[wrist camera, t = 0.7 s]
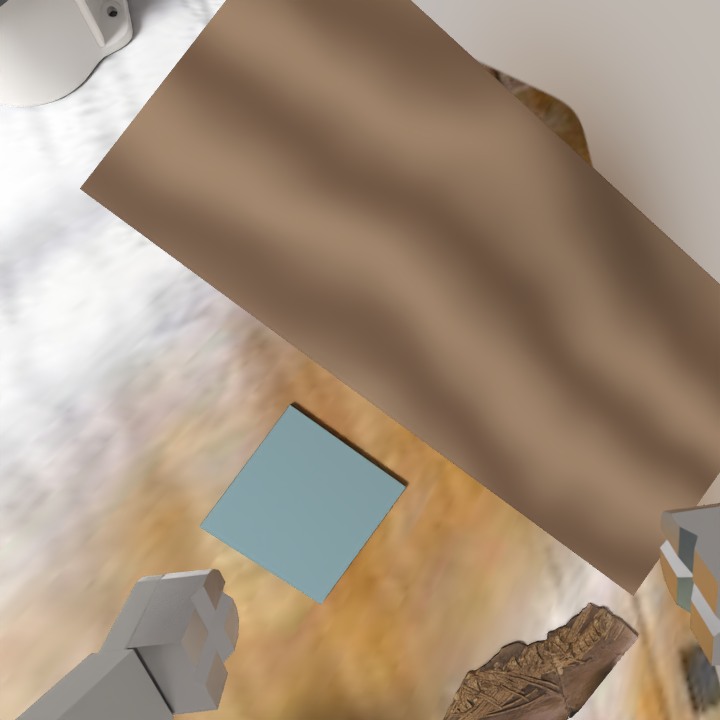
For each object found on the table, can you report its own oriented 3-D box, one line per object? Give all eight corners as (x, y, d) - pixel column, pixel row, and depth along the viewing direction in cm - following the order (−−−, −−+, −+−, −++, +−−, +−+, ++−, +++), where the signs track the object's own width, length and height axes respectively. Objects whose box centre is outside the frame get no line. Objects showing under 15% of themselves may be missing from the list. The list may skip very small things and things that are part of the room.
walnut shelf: (465, 467, 54) (633, 595, 29) (179, 256, 48) (79, 188, 23) (557, 340, 55) (799, 357, 30) (286, 116, 49) (302, -100, 24)
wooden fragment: (618, 586, 58) (625, 590, 57) (648, 671, 60) (654, 678, 59) (403, 692, 55) (406, 700, 54) (440, 780, 57) (443, 788, 56)
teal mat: (320, 601, 53) (320, 604, 52) (200, 525, 50) (199, 527, 50) (404, 485, 53) (405, 487, 53) (290, 404, 51) (290, 405, 50)
